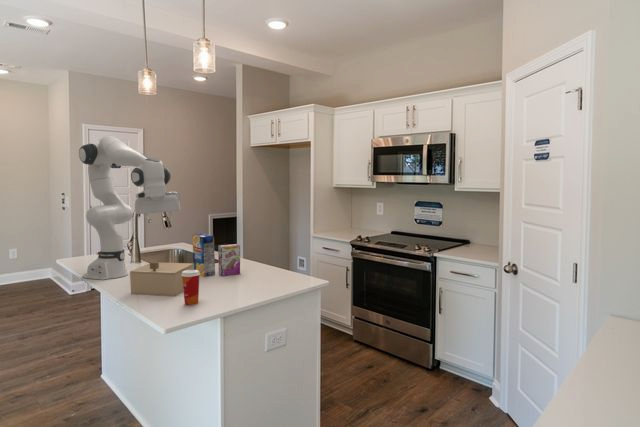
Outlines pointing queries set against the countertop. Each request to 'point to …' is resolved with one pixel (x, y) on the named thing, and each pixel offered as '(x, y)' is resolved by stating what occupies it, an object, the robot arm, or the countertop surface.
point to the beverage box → (204, 254)
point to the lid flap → (162, 268)
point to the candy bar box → (229, 259)
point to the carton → (157, 283)
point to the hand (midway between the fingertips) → (159, 222)
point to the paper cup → (191, 286)
